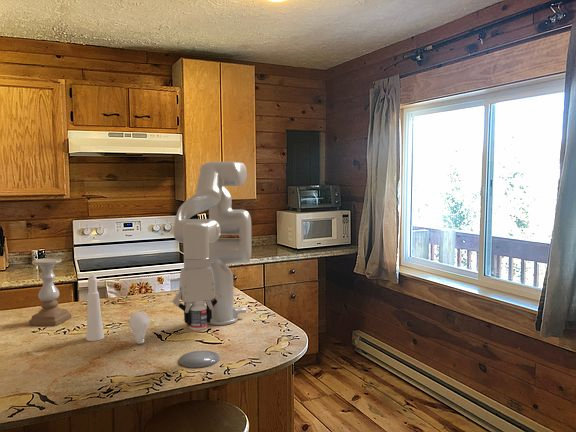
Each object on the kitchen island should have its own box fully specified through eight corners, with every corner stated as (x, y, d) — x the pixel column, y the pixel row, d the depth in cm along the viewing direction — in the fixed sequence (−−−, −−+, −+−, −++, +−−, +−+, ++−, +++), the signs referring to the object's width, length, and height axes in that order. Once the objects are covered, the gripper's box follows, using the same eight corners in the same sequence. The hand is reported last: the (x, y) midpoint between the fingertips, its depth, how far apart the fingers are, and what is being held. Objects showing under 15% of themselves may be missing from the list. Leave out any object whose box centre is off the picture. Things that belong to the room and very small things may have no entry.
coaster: (212, 349, 155) (212, 347, 155) (224, 363, 144) (224, 361, 144) (175, 356, 150) (175, 354, 150) (184, 370, 139) (184, 368, 139)
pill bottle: (203, 330, 143) (202, 301, 142) (186, 329, 144) (186, 300, 143) (209, 325, 148) (209, 296, 147) (193, 324, 149) (193, 295, 148)
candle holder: (71, 317, 191) (68, 257, 188) (55, 326, 180) (52, 263, 177) (45, 316, 192) (42, 257, 189) (28, 325, 181) (24, 262, 178)
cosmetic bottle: (81, 340, 165) (78, 276, 163) (94, 334, 170) (91, 273, 168) (96, 342, 163) (92, 278, 161) (108, 336, 168) (105, 274, 166)
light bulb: (139, 349, 156) (137, 316, 155) (125, 345, 160) (124, 312, 158) (154, 342, 162) (153, 310, 161) (141, 339, 165) (140, 307, 164)
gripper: (220, 259, 151) (221, 315, 153) (165, 264, 144) (167, 323, 145) (228, 263, 144) (229, 322, 146) (170, 268, 137) (172, 330, 139)
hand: (198, 322), depth 146 cm, fingers closed on pill bottle, 5 cm apart
